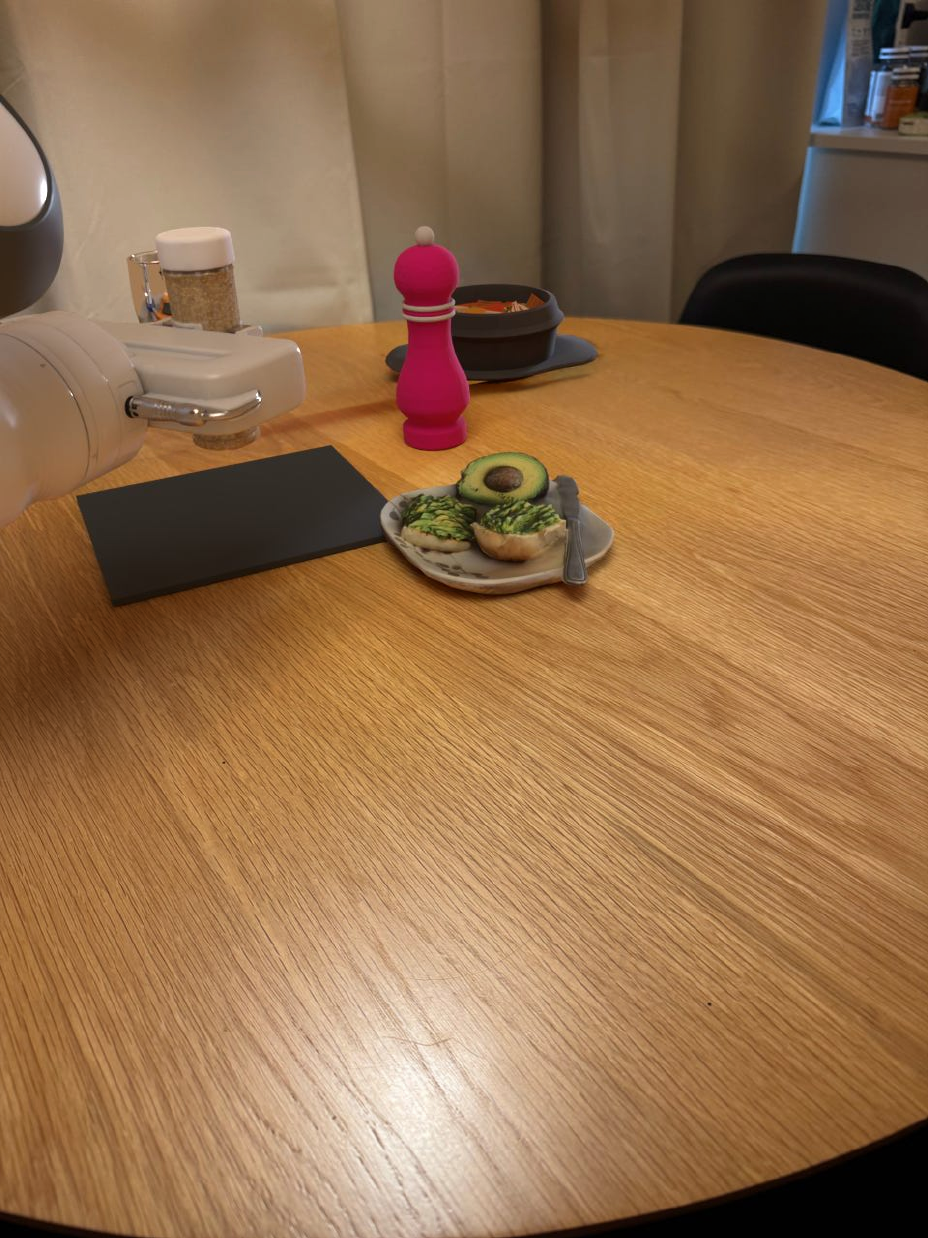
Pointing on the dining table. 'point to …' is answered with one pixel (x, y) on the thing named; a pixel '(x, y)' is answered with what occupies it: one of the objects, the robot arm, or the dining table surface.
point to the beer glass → (148, 287)
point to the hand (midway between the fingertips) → (218, 333)
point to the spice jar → (203, 297)
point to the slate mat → (229, 522)
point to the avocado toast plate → (498, 528)
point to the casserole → (507, 334)
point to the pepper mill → (430, 347)
